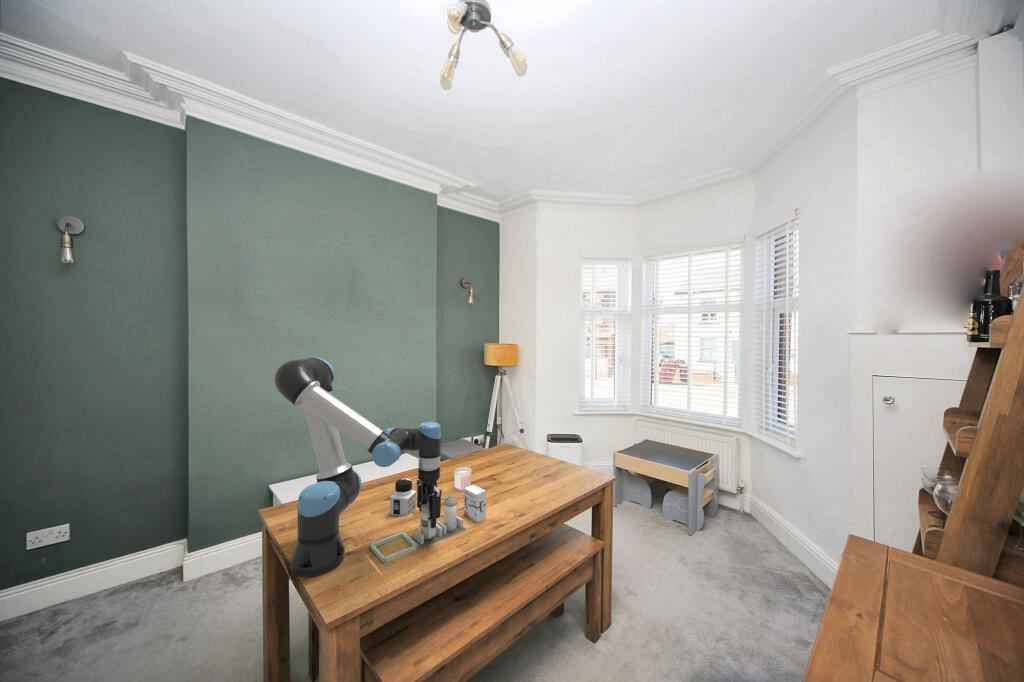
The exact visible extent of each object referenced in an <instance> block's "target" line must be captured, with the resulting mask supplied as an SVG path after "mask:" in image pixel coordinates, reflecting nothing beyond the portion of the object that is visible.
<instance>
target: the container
mask: <svg viewBox="0 0 1024 682" xmlns="http://www.w3.org/2000/svg"><path fill="white" fill-rule="evenodd" d="M394 486H395V488H394V489H395V490H394V493H393V494H392V495H391V496H389V497H390V498H389V499H390V501H389V503H390V504H389V515H390V516H396V517H403V516H409V515H410V514H412V513H413V512H414V511H415V510H417V490H413V480H412V479H411V478H400V479H398V480H396V481H395V484H394Z"/></svg>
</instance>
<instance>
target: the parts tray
mask: <svg viewBox="0 0 1024 682" xmlns="http://www.w3.org/2000/svg"><path fill="white" fill-rule="evenodd" d="M401 538H403V539H404V540H405V541H406V542H407V543H408V544H410V547H409V546H408V547H407V548H404V549H402V550H401V549H400V550H399V551H396V552H395V553H392V554H390V555H387V556H384V554H382V553H381V551H380V550H379V549H378V548H377V547H378V546H383V545H384V544H388V543H389V542H393V541H394V540H397V539H401ZM369 549H370V550H371V551H372V552H373V553H374V554H375V555H376V557H377V558H378V559H379V560H380V562H381V563H382V564H386V563H387V562H390V561H392V560H395V559H397V558H400V557H402V556H405V555H406V554H410V553H411V552H415V551H416V550H419V544H418V543H417V542H416V541H415V540H414V539H413V538H412V537H411V536H409V535H408V534H407V533H406V532H405V531H401V532H398V533H396V534H393V535H390V536H388V537H385V538H382V539H379V540H377V541H374V542H372V543H369Z"/></svg>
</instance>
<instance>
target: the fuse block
mask: <svg viewBox="0 0 1024 682" xmlns="http://www.w3.org/2000/svg"><path fill="white" fill-rule="evenodd" d="M456 523H457V529H456V530H455V531H453V532H446V531H447V526H446V525H444V522H442V521H440V520H436V535H435V536H434V538H432V539H429V540H424V534H422V533H421V531H420V529H418V528H416V529H414V531H413V532H414V533H413V535H411V536H410V538H411V539H412V540H413V541H414V542H415V543H416V544H418V546H420V547H421V548H427V547H429V546H431V545H433V544H435V543H438V542H440V541H443V540H445V539H448V538H450V537H453V536H455V535H457V534H460V533H462V532H465V531H467V530H468V529H467V528H466V527H465V526H464V519H463V518H462V517H460V516H458V515H456Z"/></svg>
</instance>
